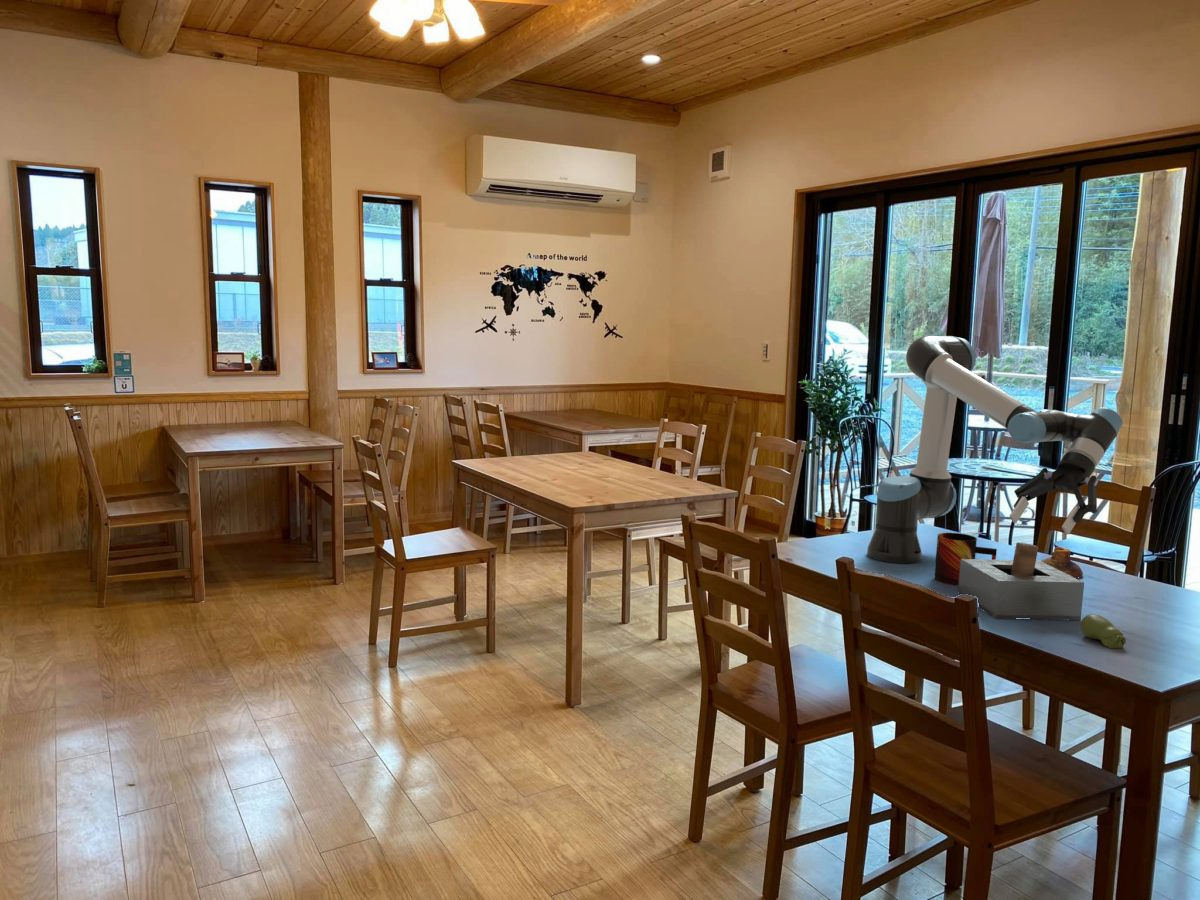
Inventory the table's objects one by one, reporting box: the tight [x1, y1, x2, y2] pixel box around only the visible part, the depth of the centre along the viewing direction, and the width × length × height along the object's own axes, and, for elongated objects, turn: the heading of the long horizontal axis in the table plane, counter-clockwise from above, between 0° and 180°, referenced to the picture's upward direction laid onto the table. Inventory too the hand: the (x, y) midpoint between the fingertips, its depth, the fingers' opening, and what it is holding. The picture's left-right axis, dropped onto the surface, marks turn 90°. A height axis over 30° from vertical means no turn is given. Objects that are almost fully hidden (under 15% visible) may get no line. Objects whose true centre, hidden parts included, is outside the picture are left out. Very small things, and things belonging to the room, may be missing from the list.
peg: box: [1011, 542, 1039, 576], centre depth 214 cm, size 5×5×14 cm
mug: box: [933, 532, 998, 587], centre depth 236 cm, size 10×14×12 cm
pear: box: [1079, 613, 1127, 649], centre depth 191 cm, size 6×5×10 cm
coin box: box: [957, 558, 1085, 621], centre depth 214 cm, size 20×20×9 cm
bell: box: [1040, 546, 1084, 579], centre depth 248 cm, size 12×12×7 cm
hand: (1038, 525), depth 215 cm, fingers open, 13 cm apart
